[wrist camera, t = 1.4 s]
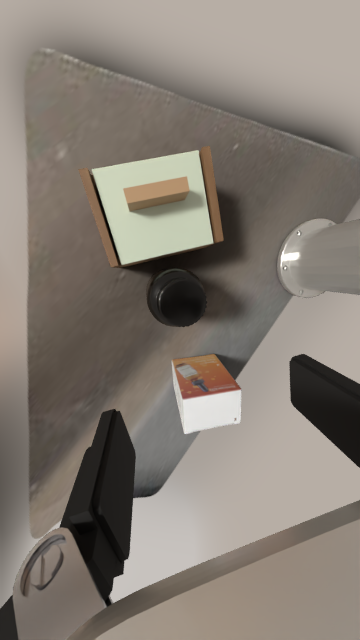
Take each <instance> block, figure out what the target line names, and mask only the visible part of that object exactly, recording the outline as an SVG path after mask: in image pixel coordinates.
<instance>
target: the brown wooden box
mask: <svg viewBox="0 0 360 640" xmlns="http://www.w3.org/2000/svg"><path fill="white" fill-rule="evenodd" d="M199 158H200V164H201V170H202V176H203V182H204V188H205V194H206V200H207V206H208V213H209V219H210V225H211V231H212V237H213V244H216V243H218V242H221V241H224V239H223V232H222V226H221V219H220V212H219V205H218V199H217V192H216V185H215V178H214V171H213V165H212V158H211V151H210V146H207V147H202V149H201V151H200V153H199ZM78 170H79V173H80V176H81V179H82V182H83V185H84V188H85V191H86V194H87V197H88V200H89V203H90V206H91V209H92V212H93V215H94V218H95V221H96V224H97V227H98V230H99V233H100V236H101V239H102V242H103V245H104V248H105V251H106V254H107V257H108V260H109V263H110V266H111V267H114V268H122V267H126V266H131V265H135V264H139V263H143V262H147V261H151V260H156V259H160V258H164V257H168V256H172V255H177V254H181V253H185V252H189V251H193V250H197V249H202V248H205V247H208V246H211V245H213V244H209V245H205V246H201V247H197V248H192V249H188V250H184V251H180V252H176V253H171V254H167V255H163V256H159V257H155V258H150V259H146V260H142V261H138V262H133V263H129V264H125V265H121V261H120V258H119V255H118V252H117V249H116V246H115V242H114V239H113V236H112V233H111V230H110V227H109V223H108V220H107V217H106V214H105V211H104V207H103V204H102V201H101V198H100V195H99V192H98V188H97V185H96V182H95V179H94V176H93V175H91V174H90V172H89V170H88V169H87V168H83V169H78Z"/></svg>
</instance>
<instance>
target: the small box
mask: <svg viewBox="0 0 360 640" xmlns="http://www.w3.org/2000/svg"><path fill="white" fill-rule="evenodd" d="M172 370H173V382H174V389H175V394H176V398H177V403H178V407H179V412H180V416H181V421H182V425H183V430H184V434H188V433H192V432H195V431H200V430H205V429H210V428H215V427H220V426H225V425H230V424H238V423H240V418H241V391H242V390H241V388H240V387H239V385H238V384H237V383H236V381H235V380H234V379H233V377H232V376H231V375H230V374H229V372H228V371H227V370H226V368H225V367H224V366H223V364H222V363H221V362H220V360H219V359H218V358H217V357H216V355H215V354H211V355H205V356H198V357H190V358H182V359H173V360H172Z"/></svg>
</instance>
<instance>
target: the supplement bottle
mask: <svg viewBox="0 0 360 640" xmlns="http://www.w3.org/2000/svg"><path fill="white" fill-rule="evenodd" d="M146 297H147V304H148V307H149V310H150V312H151V313H152V315H153V316H154V317H155V318H156V319H157V320H158V321H159V322H161V323H162V324H165V325H167V326H172V327H181V326H182V327H185V326H189V325H193V324H194V323H196V322H197V321H198V320H199V319H200V318H201V317H202V316H203V313H204V312H205V308H206V303H207V301H206V296H205V291H204V288H203V285H202V283H201V281H200V280H199V278H198V277H197V276H196V275H195V274H193V273H192V272H190V271H188V270H186V269H182V268H170V269H164V270H161V271H158V272H157V273H155V274H154V275H153V276H152V277H151V278H150V280H149V281H148V284H147V288H146Z"/></svg>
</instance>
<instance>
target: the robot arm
mask: <svg viewBox="0 0 360 640" xmlns="http://www.w3.org/2000/svg"><path fill="white" fill-rule="evenodd" d="M277 271H278V276H279V279H280V282H281V284H282V285H283V287H284V288H285V289H286V290H287V291H288V292H289V293H291V294H292V295H294V296H299V297H304V298H308V297H315V296H318V295H320V294H322V293H324V292H325V291H332V292H340V293H349V294H357V295H360V219H357V220H353V221H349V222H345V223H341V224H335V223H334V222H332V221H330V220H328V219H313V220H310V221H307V222H304V223H302V224H300V225H299V226H297V227H296V228H295V229H294V230H293V231H292V232H291V233H290V234H289V235H288V236H287V238H286V239H285V241H284V242H283V245H282V247H281V249H280V252H279V255H278V262H277ZM290 391H291V402H292V404H293V406H294V407H295V408H296V409H297V410H298V411H299V412H300V413H302V414H303V415H304V416H305V417H306V418H307V419H308V420H309V421H310V422H311V423H312V424H313V425H314V426H315V427H316V428H318V429H319V430H320V431H321V432H322V433H323V434H324V435H325V436H326V437H327V438H328V439H329V440H331V442H332V443H334V444H335V445H336V446H337V447H338V448H339V449H340V450H341V451H342V452H343V453H344V454H345V455H346V456H347V457H348V458H350V459H351V460H352V461H353V462H354V463H355V464H356V465H357V466H358V467H360V384H358V383H357V382H355V381H353V380H351V379H349V378H347V377H345V376H344V375H342V374H340V373H338V372H336V371H335V370H333V369H331V368H329V367H327V366H325V365H323V364H321V363H320V362H318V361H316V360H314V359H312V358H311V357H309V356H307V355H305V354H301V355H298V356H294V357H292V359H291V361H290ZM135 459H136V456H135V450H134V447H133V444H132V442H131V439H130V436H129V434H128V431H127V428H126V426H125V423H124V421H123V418H122V415H121V413H120V411H116V410H115V409H112V410H109V411H105V412H103V413H102V415H101V418H100V421H99V424H98V427H97V430H96V433H95V436H94V440H93V443H92V446H91V447H89V448H88V449H87V450H86V452H85V454H84V457H83V460H82V463H81V466H80V469H79V472H78V475H77V478H76V480H75V483H74V486H73V489H72V492H71V495H70V498H69V501H68V504H67V507H66V510H65V513H64V515H63V518H62V521H61V524H60V528H58V529H55V530H53V531H51V532H49V533H48V534H46V535H45V536H44V537H43V538H42V539H41V540H39V542H38V543H37V544H36V545H35V546H34V547H33V549H32V550H31V551H30V552H29V554H28V555H27V557H26V558H25V560H24V562H23V563H22V565H21V567H20V569H19V572H18V574H17V576H16V579H15V583H14V587H13V595H12V596H11V597H10V598H9V599H8V601H7V602H6V603H5V604H4V605H3V607H2V608H1V609H0V640H360V500H359V501H356V502H354V503H351V504H349V505H346V506H343V507H341V508H338V509H336V510H334V511H331V512H329V513H326V514H323V515H321V516H318V517H316V518H313V519H311V520H308V521H306V522H303V523H300V524H298V525H295V526H293V527H291V528H288V529H285V530H283V531H280V532H278V533H275V534H273V535H271V536H268V537H265V538H263V539H260V540H258V541H255V542H253V543H250V544H248V545H245V546H243V547H241V548H238V549H236V550H233V551H231V552H228V553H226V554H223V555H221V556H218V557H216V558H213V559H211V560H208V561H206V562H203V563H201V564H199V565H196V566H194V567H191V568H189V569H186V570H184V571H182V572H180V573H177V574H175V575H173V576H170V577H168V578H166V579H163V580H161V581H159V582H157V583H154V584H152V585H149V586H147V587H145V588H142V589H140V590H138V591H136V592H134V593H132V594H130V595H128V596H127V597H125V598H123V599H121V600H119V601H117V602H115V603H113V602H112V599H111V597H110V593H111V591H112V587H113V579H114V577H117V576H119V575H122V574H123V570H124V560H126V559H128V557H129V551H130V537H131V520H132V505H133V490H134V475H135Z"/></svg>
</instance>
